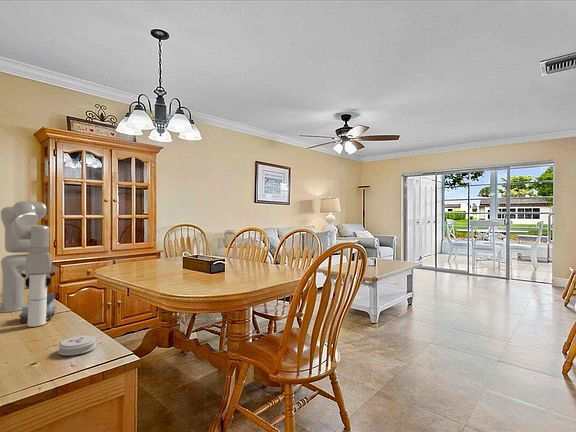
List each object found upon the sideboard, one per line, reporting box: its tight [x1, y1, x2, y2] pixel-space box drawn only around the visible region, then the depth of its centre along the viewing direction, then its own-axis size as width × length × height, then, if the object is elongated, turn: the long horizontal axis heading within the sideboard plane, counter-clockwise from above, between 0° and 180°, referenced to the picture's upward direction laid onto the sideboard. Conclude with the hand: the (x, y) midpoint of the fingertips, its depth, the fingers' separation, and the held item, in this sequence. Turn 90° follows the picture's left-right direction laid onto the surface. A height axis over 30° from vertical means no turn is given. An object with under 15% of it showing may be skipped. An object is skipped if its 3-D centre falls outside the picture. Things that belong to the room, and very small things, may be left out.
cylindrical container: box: [27, 274, 48, 327], centre depth 157 cm, size 7×7×25 cm
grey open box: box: [18, 293, 57, 324], centre depth 166 cm, size 12×13×12 cm
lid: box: [57, 335, 97, 356], centre depth 127 cm, size 13×13×5 cm
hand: (38, 286), depth 157 cm, fingers closed on cylindrical container, 7 cm apart
